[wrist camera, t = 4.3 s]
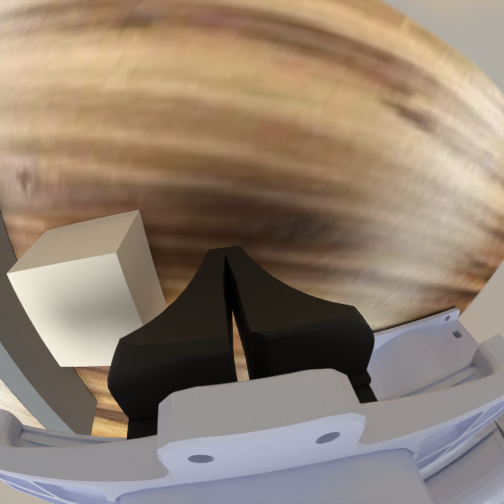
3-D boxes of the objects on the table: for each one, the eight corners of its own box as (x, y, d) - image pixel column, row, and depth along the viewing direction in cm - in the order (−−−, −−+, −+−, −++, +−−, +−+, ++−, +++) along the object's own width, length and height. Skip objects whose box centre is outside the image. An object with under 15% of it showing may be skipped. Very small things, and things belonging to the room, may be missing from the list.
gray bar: (-6, 192, 10) (-55, 225, 6) (97, 401, 17) (89, 446, 14) (-32, 203, 9) (-77, 235, 6) (71, 400, 17) (60, 442, 14)
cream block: (140, 208, 12) (116, 252, 8) (166, 302, 14) (159, 361, 11) (47, 229, 11) (6, 273, 8) (82, 312, 14) (60, 366, 10)
